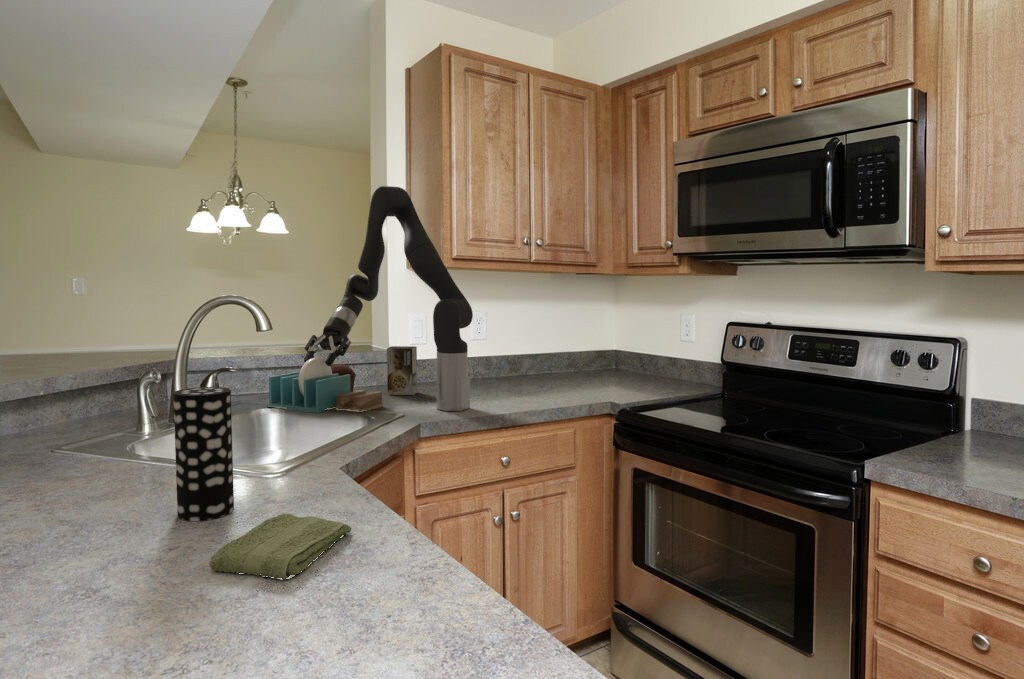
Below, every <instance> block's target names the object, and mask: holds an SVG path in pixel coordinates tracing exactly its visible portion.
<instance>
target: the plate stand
mask: <svg viewBox="0 0 1024 679" xmlns="http://www.w3.org/2000/svg"><path fill="white" fill-rule="evenodd" d="M382 407H384V403H383V391H377V390H376V391H371V392H367V390H365V389H356V390H353V391H352V392H348V393H344V394H340V395H337V407H336V408H338V409H350V410H359V411H362V410H369V411H371V409H372V410H375V409H378V408H382ZM336 408H335V409H336Z"/></svg>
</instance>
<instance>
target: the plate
mask: <svg viewBox="0 0 1024 679" xmlns="http://www.w3.org/2000/svg"><path fill="white" fill-rule="evenodd" d="M325 361H326V359H324V358H321V357H314V358H311V359H309V360H308V361H306V362H304V363H303V364H302V366H301V369H300V371H299V372H300V373H299V380H298V383H299V389H300V392H301V394H302V396H303V397H304V380H306V379H311V378H316V377H322V376H327V375H332V370H331V367H330V366H327V365H326V364H325Z"/></svg>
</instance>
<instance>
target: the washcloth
mask: <svg viewBox="0 0 1024 679" xmlns="http://www.w3.org/2000/svg"><path fill="white" fill-rule="evenodd" d="M351 532H352V527H351V526H350V525H349V524H345V523H344V522H342V521H337V520H336V521H334V520H328V519H325V518H323V517H322V518H321V517H317V516H312V515H310V516H297V515H294V514H292V513H281V514H277V515H276V516H273V517H270V518H267V519H265V520H264V521H263V522H261V523H260V524H258V525H256V526H255V527H253V528H251V530H248V532H246V533H245V534H242V535H241V536H239V537H237V538H236V539H232V540H231V541H230V542H229V543H228V542H227V544H225V545H223V546H222V547H220V548H218V550H217V551H216V552H215V553H214V555H212V556H211V558H210V561H209V563H208V565H209V568H211V571H214V572H216V571H219V572H220V573H228V572H236V573H235V574H237V573H238V574H239V573H249V574H248V575H250V574H259V575H260V574H261V576H260V577H262V576H265V577H266V576H271V577H274V578H282V579H286V578H288V577H289V576H290V575H296V574H299V573H301V571H303V570H304V569H305V570H306V567H307V566H308V565H309V564H310V563H311V562H312V561H313V560H315V559H316V558H317V557H319V555H320V554H321V553H322V552H323V551H325V550H326V549H328V548H329V547H330V546H331V545H332V544H333V543H334V542H336V541H337V540H338V541H340V540H341V539H340V537H341V536H342V535H345V534H346V535H347V533H351ZM346 535H345V536H346ZM339 539H340V540H339ZM329 549H330V548H329ZM329 549H328V550H329ZM326 551H327V550H326ZM319 558H320V557H319ZM305 570H304V571H305ZM222 571H224V572H222ZM304 571H303V572H304ZM219 572H218V573H219ZM238 574H237V575H238ZM301 574H302V573H301ZM239 575H240V574H239ZM259 575H258V576H259ZM299 575H300V574H299ZM296 576H297V575H296Z"/></svg>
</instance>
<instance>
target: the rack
mask: <svg viewBox="0 0 1024 679" xmlns="http://www.w3.org/2000/svg"><path fill="white" fill-rule="evenodd" d="M299 373H300V371H296V372H295V371H294V372H290V373H283V374H278V375H272V376H269V377H268V393H269V395H268V398H269V402H268V403H267V404H266V405H275V406H282V407H287V409H286V410H288V411H298V412H306V413H316V414H319V413H323V412H325V411H324V410H325V409H327V408H333V407H337V395H340V394H344V393H348V392H350V375H343V376H339V374H332V375H327V376H322V377H316V378H311V379H306V380H304V397H303V396H302V394H301V392H300V389H299V383H298V380H299Z"/></svg>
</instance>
